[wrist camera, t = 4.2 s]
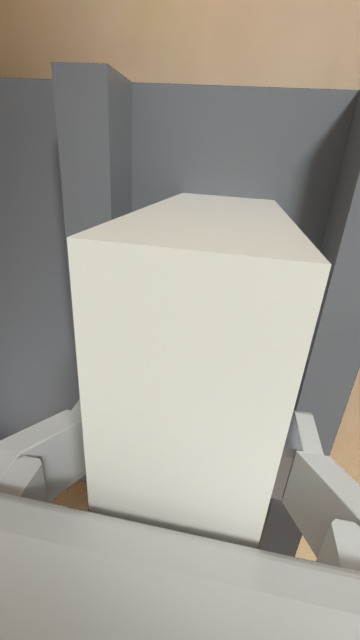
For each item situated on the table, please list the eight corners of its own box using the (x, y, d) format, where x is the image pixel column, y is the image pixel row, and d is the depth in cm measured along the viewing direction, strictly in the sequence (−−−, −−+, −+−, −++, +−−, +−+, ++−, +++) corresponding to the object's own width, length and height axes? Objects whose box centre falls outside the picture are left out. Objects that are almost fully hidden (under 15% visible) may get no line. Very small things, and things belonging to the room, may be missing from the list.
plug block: (182, 192, 11) (66, 237, 4) (274, 200, 11) (331, 264, 4) (166, 456, 16) (103, 684, 9) (228, 467, 16) (213, 716, 9)
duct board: (-286, 73, 13) (-481, 38, 10) (411, 99, 10) (505, 60, 6) (-135, 421, 21) (-213, 473, 17) (289, 506, 17) (300, 593, 14)
